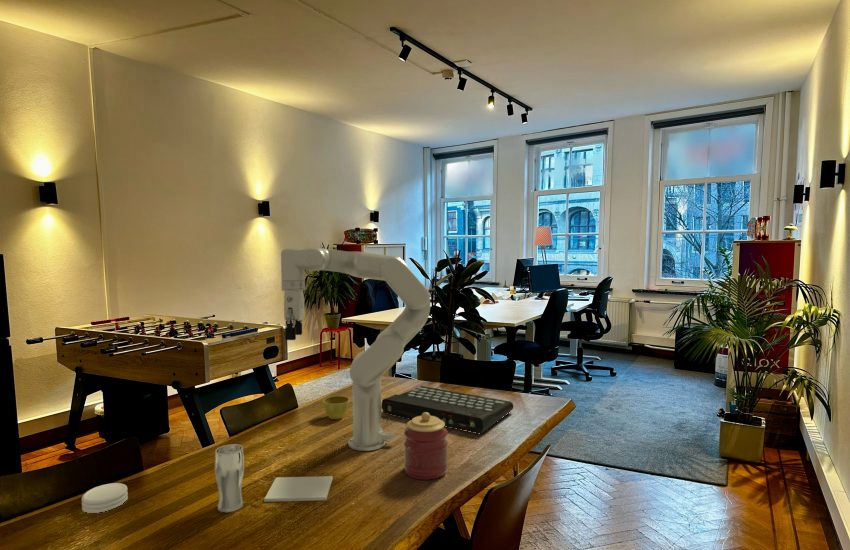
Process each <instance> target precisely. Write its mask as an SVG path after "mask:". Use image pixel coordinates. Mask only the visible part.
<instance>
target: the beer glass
mask: <svg viewBox="0 0 850 550" xmlns="http://www.w3.org/2000/svg"><path fill="white" fill-rule="evenodd" d="M214 473H215V474H214V475H215V479H216V484H217V489H218V503H217V510H218V511H219V512H220V513H223V512H225V513H228V514H229V513H233V512H236V511H238V510H240V509H241V508H243V506H244V501H243V496H242V485H243V479H244V473H245V456H244V447H243V446H242V445H241V444H237V443H235V444H233V443H232V444H226V445H222V446H219V447H218V448H216V449H215V453H214Z"/></svg>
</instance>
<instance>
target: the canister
mask: <svg viewBox="0 0 850 550" xmlns="http://www.w3.org/2000/svg"><path fill="white" fill-rule="evenodd" d="M444 426H445V423H444V422H443V421H442V420H440V419H439V418H437V417H435V416H430V414H429V413H428V412H424V413H423V414H422V416H417V417H415V418H413V419H412V420H410V419H409V421H408V422H406V428H405V429H404V431H403V434H404V436H405V440H404V443H403V445H404V462H403V465H404V466H403V468H404V472H405V474H406V475H407V476H409V477H410V478H412V479H417V480H419V481H421V480H423V481H425V480H426V481H432V480H436V478H437V479H440V478H443V476H445V475H446V473H448V467H449V465H448V464H449V463H448V445H449V444H448V440H447V436H448V434H449V433H448V432H449V431H448V428H446V427H444ZM439 477H440V478H439ZM431 479H432V480H431Z"/></svg>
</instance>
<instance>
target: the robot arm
mask: <svg viewBox="0 0 850 550" xmlns="http://www.w3.org/2000/svg"><path fill="white" fill-rule="evenodd" d="M280 267H281V268H280V270H281V271H280V273H281V274H280V275H281V276H280V277H281V278H280V279H281V281H280V282H281V283H280V284H281V291H283V292H284V293H283V294H284V295H283V316H284V317H283V318H284V321H285V325H284V326H285V329H284V331H285V333H284V334H285V340H286V341H296V340H297V336H301V335H303V319H304V318H305V315H306V314H305V313H306V312H305V297H304V291H305V290H306V275H305V274H306V271H311V272H316V271H317V272H318V271H328V272H337V273H341V274H348V275H349V276H352V277H355V278H361V279H370V280H378V281H385V282H386V284H387V286H389V287H390V289H391V290H392V291H393V293H395V294H396V296H397V297H398V298H399V299H400V300H401V301H402V302H403V304H404V305H405V307H404V309H403V310H402V312H401V313H399V315H398V316H397V317H396V319H394V320H393V321H392V322H391V323H390V324H389V325H388V326H387V327H386V328H385V329H384V330H383V331H381V332H380V333H379V334H378V335H377V337H376V339H375V341H373V343H372V344H371V345H370V346H368V348H367V349H366V350H362V351H360V352H358V353H357V354H356V355H355V356H354V358H353V360H352V362H351V365H350V368H349V377H350V379H351V381H352V437H350V438H349V439H348V442H347V443H348V447H349V448H350V449H352V450H355V451H359V452H360V451H361V452H371V451H377V450H379V449H381V448H384V446H385V445H386V442H387V441H386V440H395V433H392V431H385V430H383V427H382V377H383V376H384V375H385V374H386V373H387V372H388V371H389V370H390V369H391V368H392V367H393V366H394V365H395V364H396V363H397V362H398V361H399V360H400V359H401V357H402V356H403V354H404V349H405V347H406V345H407V344H408V343H409V342H410V341H411V340H413V338H414V337H415V336H416V335H417V334H418V333H419V332H420V331H421V330H422V329H423V327H424V326H425V324H426V323H427V321H428V319H429V316H430V312H431V299H430V298H431V297H430V292H429V290H428V287H426V285H424V284H423V282H422V281H420V279H419V277H417V276H416V275H415V273H413V271H412V270H411V269H410V267H409V266H408V265H407V263H406V262H405V260H404V259H403V258H401V257H399V256H395V255H387V254H380V253H378V254H377V253H372V252H365V251H345V250H339V249H337V250H336V249H329V248H322V247H310V248H283V249H282V250H281V253H280Z"/></svg>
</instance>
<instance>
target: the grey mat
mask: <svg viewBox="0 0 850 550" xmlns="http://www.w3.org/2000/svg"><path fill="white" fill-rule="evenodd" d="M332 482H333V476H332V475H329V476H322V475H321V476H283V477H278V476H277V477H275V479H274V480H273V483H272V484H271V486H270V488H269V489H268V491H267V493H266V495H265V497H264V498H263V500H264V501H263V502H264V503H267V502H268V503H269V502H305V501H306V502H310V501H327V498H328V495H329V492H330V488H331V485H332Z"/></svg>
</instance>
